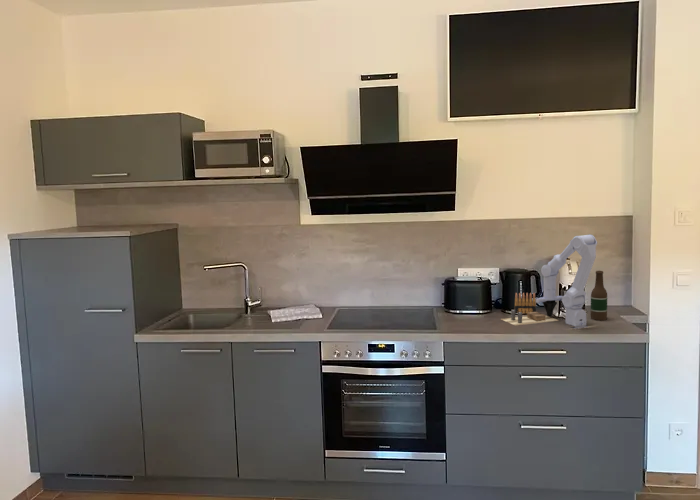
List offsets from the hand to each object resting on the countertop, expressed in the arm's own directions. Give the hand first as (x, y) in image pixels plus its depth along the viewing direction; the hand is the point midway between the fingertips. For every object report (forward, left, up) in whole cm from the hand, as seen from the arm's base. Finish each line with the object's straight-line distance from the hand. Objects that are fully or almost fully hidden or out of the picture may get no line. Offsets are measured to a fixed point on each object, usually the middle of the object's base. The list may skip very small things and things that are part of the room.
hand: (549, 315), depth 292 cm
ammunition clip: (+13, +5, -2) cm, 14 cm away
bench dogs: (0, +18, -2) cm, 19 cm away
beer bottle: (-8, -23, -2) cm, 24 cm away
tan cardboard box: (0, +7, -1) cm, 8 cm away
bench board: (0, +11, -2) cm, 12 cm away
